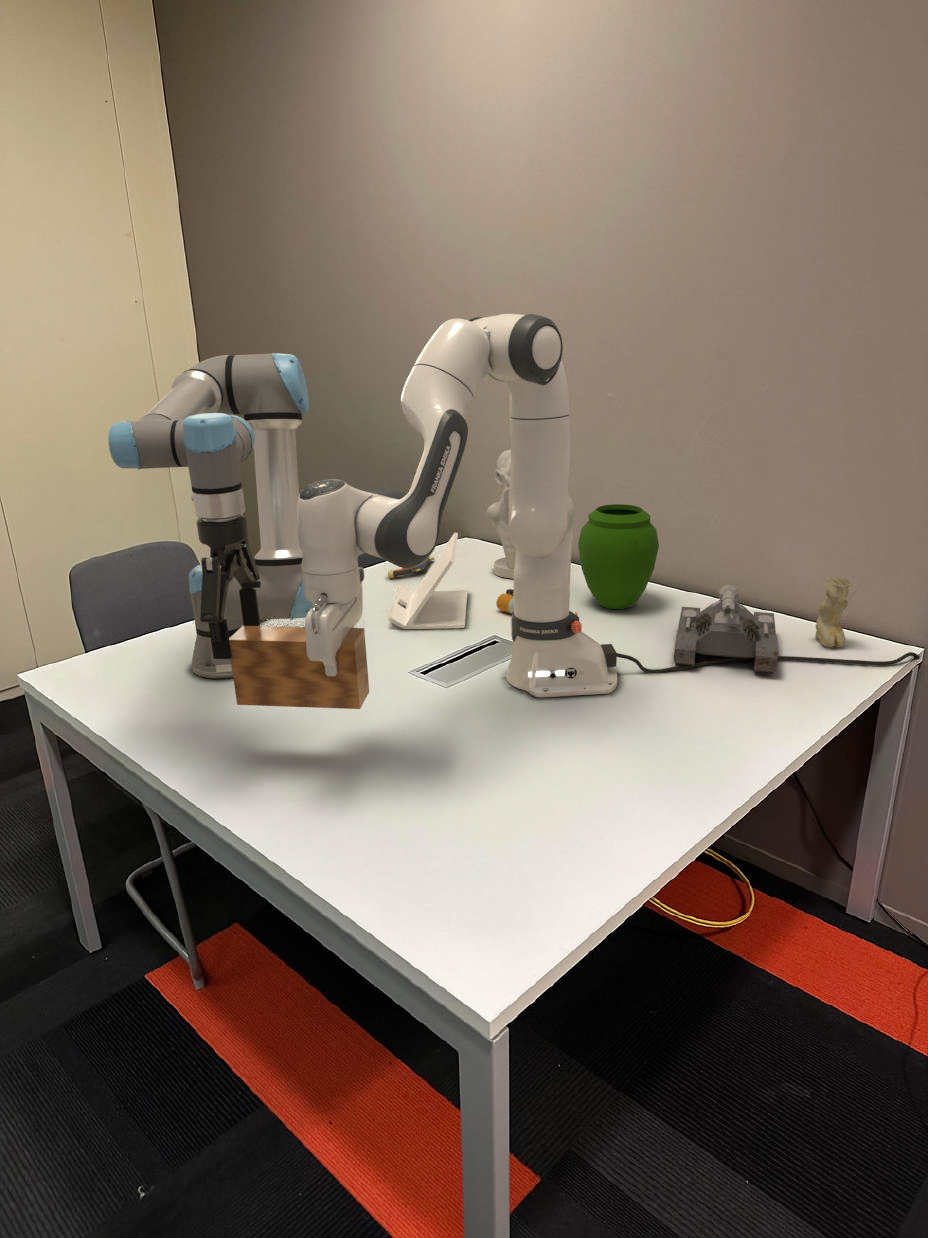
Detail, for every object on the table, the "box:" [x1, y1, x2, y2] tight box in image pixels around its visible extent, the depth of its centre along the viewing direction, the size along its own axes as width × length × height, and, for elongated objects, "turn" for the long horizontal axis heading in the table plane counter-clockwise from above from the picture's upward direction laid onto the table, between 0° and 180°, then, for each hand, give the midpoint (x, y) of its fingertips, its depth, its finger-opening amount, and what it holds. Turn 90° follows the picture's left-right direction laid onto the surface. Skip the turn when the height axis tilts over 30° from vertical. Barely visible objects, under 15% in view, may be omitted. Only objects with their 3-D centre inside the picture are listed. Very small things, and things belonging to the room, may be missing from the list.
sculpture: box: [814, 576, 852, 648], centre depth 185 cm, size 6×7×15 cm
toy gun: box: [387, 556, 435, 579], centre depth 246 cm, size 3×19×10 cm
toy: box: [673, 584, 779, 674], centre depth 182 cm, size 25×20×15 cm
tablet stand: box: [388, 531, 468, 630], centre depth 211 cm, size 18×25×17 cm
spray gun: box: [495, 588, 514, 614], centre depth 214 cm, size 4×17×15 cm
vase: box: [577, 503, 660, 610], centre depth 210 cm, size 20×20×24 cm
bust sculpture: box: [485, 449, 516, 579], centre depth 231 cm, size 16×24×35 cm
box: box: [229, 625, 370, 710], centre depth 141 cm, size 21×6×12 cm, turn 82°
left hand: (238, 641), depth 141 cm, fingers open, 13 cm apart
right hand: (339, 664), depth 140 cm, fingers closed on box, 6 cm apart
